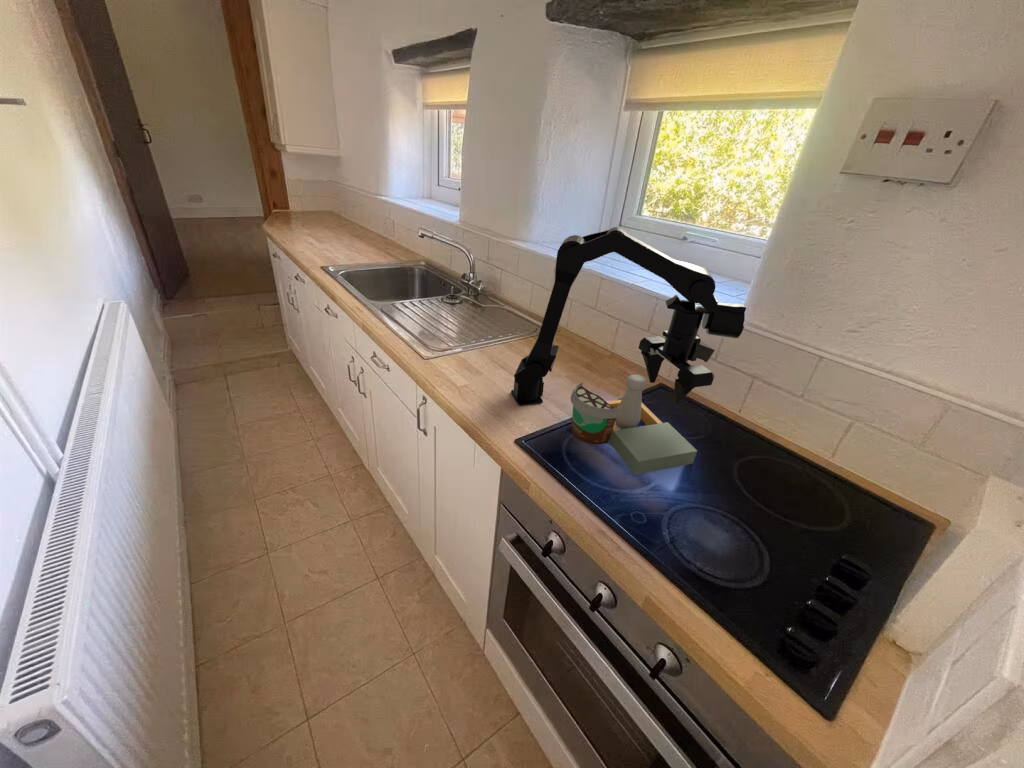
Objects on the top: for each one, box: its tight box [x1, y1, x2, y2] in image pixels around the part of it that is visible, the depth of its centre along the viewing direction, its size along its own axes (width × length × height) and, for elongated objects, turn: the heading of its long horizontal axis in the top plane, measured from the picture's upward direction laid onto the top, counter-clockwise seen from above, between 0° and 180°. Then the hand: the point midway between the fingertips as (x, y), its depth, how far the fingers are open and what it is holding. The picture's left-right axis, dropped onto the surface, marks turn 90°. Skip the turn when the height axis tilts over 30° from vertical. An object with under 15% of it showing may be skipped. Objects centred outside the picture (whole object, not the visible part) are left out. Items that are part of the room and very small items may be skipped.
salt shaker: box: [615, 374, 648, 430], centre depth 92 cm, size 6×6×13 cm
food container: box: [570, 381, 621, 446], centre depth 88 cm, size 12×6×10 cm, turn 35°
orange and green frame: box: [606, 399, 698, 476], centre depth 91 cm, size 14×21×4 cm, turn 18°
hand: (663, 392), depth 93 cm, fingers open, 9 cm apart
